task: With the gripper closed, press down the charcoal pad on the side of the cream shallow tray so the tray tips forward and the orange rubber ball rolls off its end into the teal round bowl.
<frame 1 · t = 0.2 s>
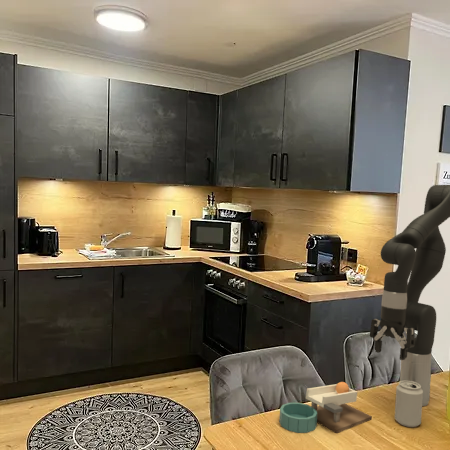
hand: (390, 355, 147), 18 cm above the table, tool pointing down, fingers open, 8 cm apart
teal round bowl: (297, 423, 136), on the table
ball: (342, 388, 144), point 8 cm above the table, tilted 12°, touching cream shallow tray
stand: (336, 416, 142), on the table
can: (407, 423, 140), on the table
cream shallow tray: (336, 397, 140), point 7 cm above the table, hinge at -6.0°, touching ball
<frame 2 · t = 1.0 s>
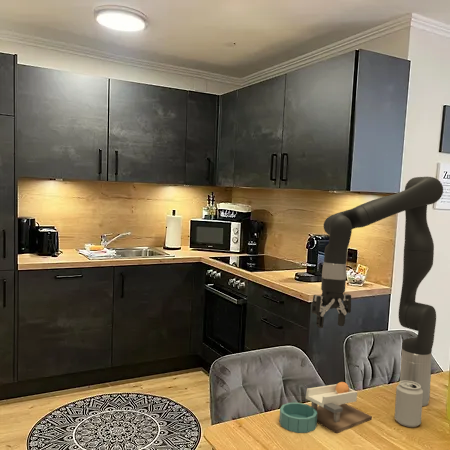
hand: (330, 326, 149), 26 cm above the table, tool pointing down, fingers open, 8 cm apart
nothing on the table moved.
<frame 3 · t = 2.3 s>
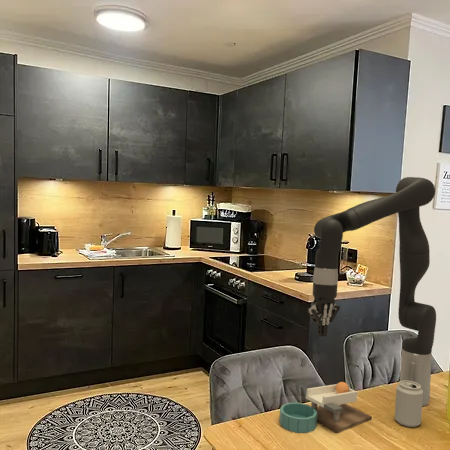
hand: (322, 336, 146), 23 cm above the table, tool pointing down, fingers closed
nothing on the table moved.
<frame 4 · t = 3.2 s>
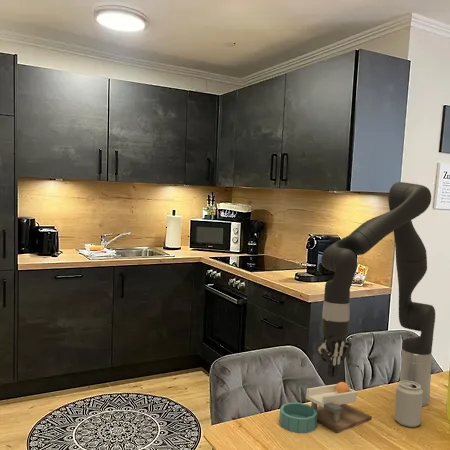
hand: (332, 376, 132), 16 cm above the table, tool pointing down, fingers closed
nothing on the table moved.
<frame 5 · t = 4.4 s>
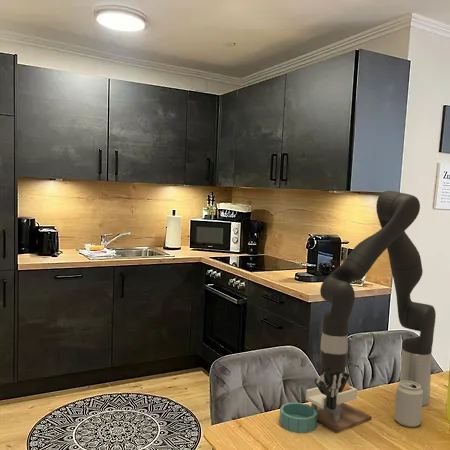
hand: (330, 408, 133), 7 cm above the table, tool pointing down, fingers closed
ball: (342, 386, 144), point 8 cm above the table, tilted 7°
cream shallow tray: (336, 396, 140), point 7 cm above the table, hinge at -1.3°, touching gripper
everything else where it was.
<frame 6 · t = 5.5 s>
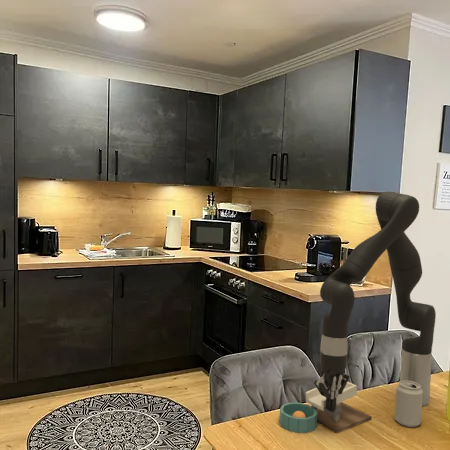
hand: (330, 409, 133), 6 cm above the table, tool pointing down, fingers closed
ball: (299, 418, 134), point 3 cm above the table, tilted 173°
cream shallow tray: (336, 395, 140), point 7 cm above the table, hinge at 5.9°, touching gripper
everything else where it was.
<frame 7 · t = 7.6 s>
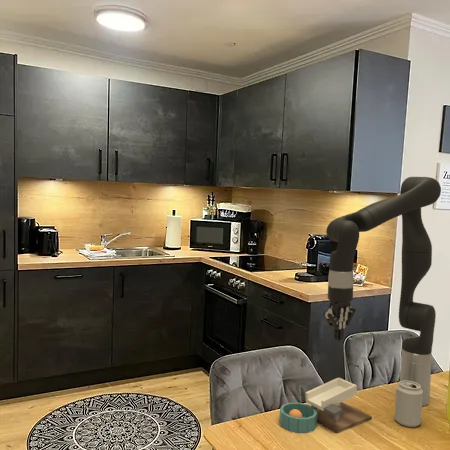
hand: (338, 339, 143), 23 cm above the table, tool pointing down, fingers closed
ball: (295, 416, 135), point 3 cm above the table, tilted 144°, touching teal round bowl
cream shallow tray: (336, 395, 140), point 7 cm above the table, hinge at 6.5°
everything else where it was.
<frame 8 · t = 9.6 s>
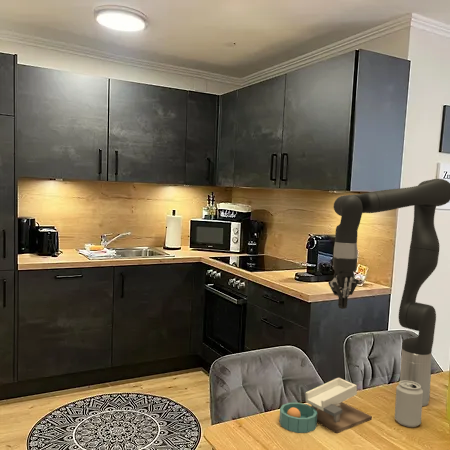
hand: (342, 308, 152), 31 cm above the table, tool pointing down, fingers closed
ball: (293, 414, 136), point 3 cm above the table, tilted 112°, touching teal round bowl
everything else where it was.
at the end: ball inside the target area on the teal round bowl (1.4 cm from its centre), point 2.8 cm above the teal round bowl's base; ball moved 18.7 cm from its start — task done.
